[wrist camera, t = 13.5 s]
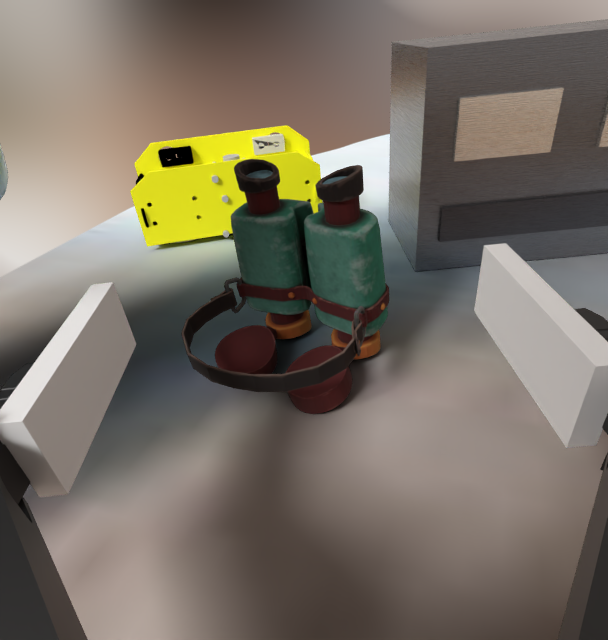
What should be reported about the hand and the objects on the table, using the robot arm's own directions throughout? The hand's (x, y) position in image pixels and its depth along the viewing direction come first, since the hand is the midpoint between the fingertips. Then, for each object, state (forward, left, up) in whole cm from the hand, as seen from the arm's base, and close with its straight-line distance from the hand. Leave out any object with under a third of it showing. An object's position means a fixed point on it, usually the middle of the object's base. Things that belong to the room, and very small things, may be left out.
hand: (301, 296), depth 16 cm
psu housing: (+18, +20, -7) cm, 28 cm away
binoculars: (-1, +5, -8) cm, 9 cm away
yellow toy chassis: (-6, +27, -8) cm, 28 cm away
